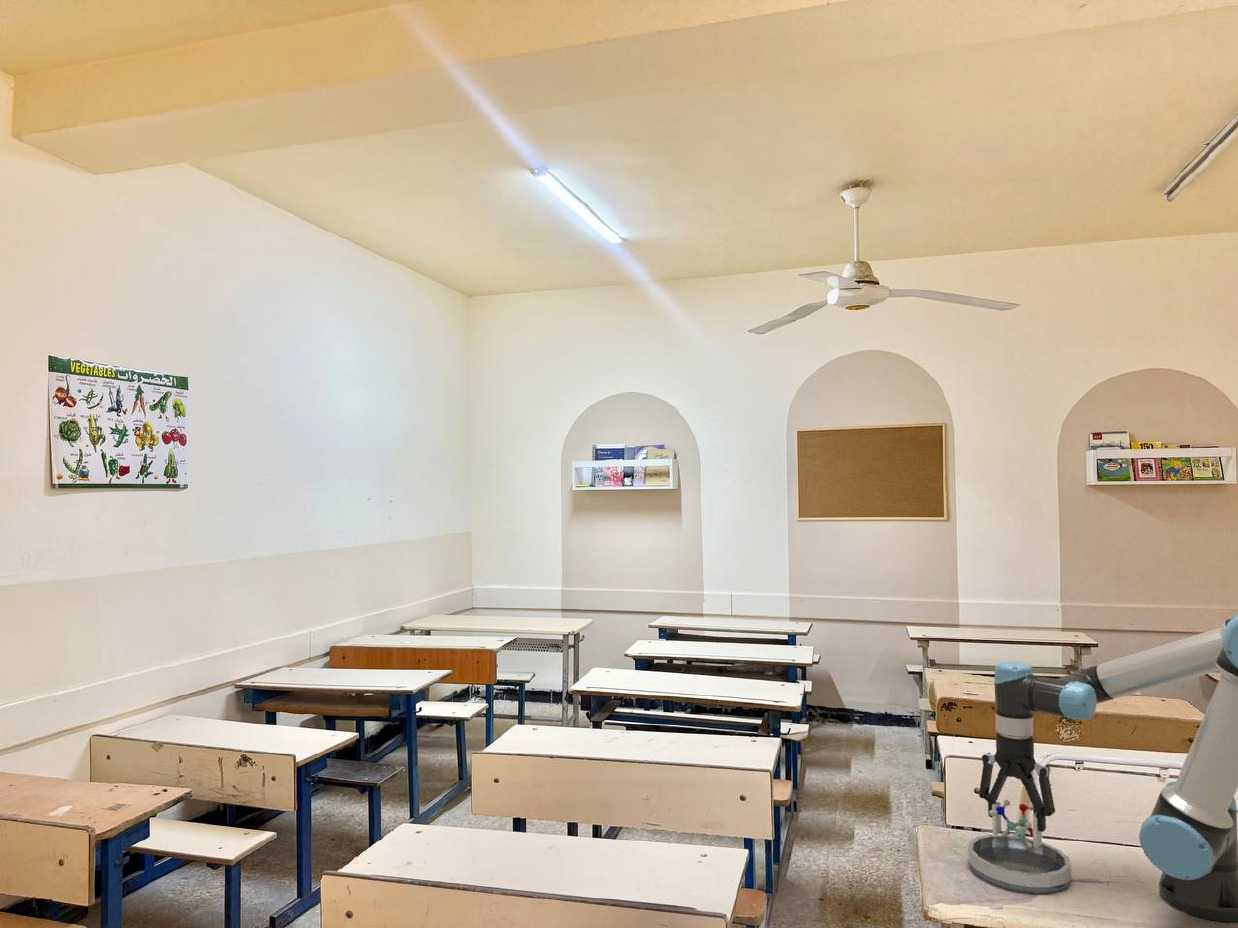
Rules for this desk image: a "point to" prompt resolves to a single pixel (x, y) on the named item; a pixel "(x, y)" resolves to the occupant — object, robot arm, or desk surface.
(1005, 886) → the shallow grey dish
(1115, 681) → the robot arm
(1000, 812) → the molecular model
